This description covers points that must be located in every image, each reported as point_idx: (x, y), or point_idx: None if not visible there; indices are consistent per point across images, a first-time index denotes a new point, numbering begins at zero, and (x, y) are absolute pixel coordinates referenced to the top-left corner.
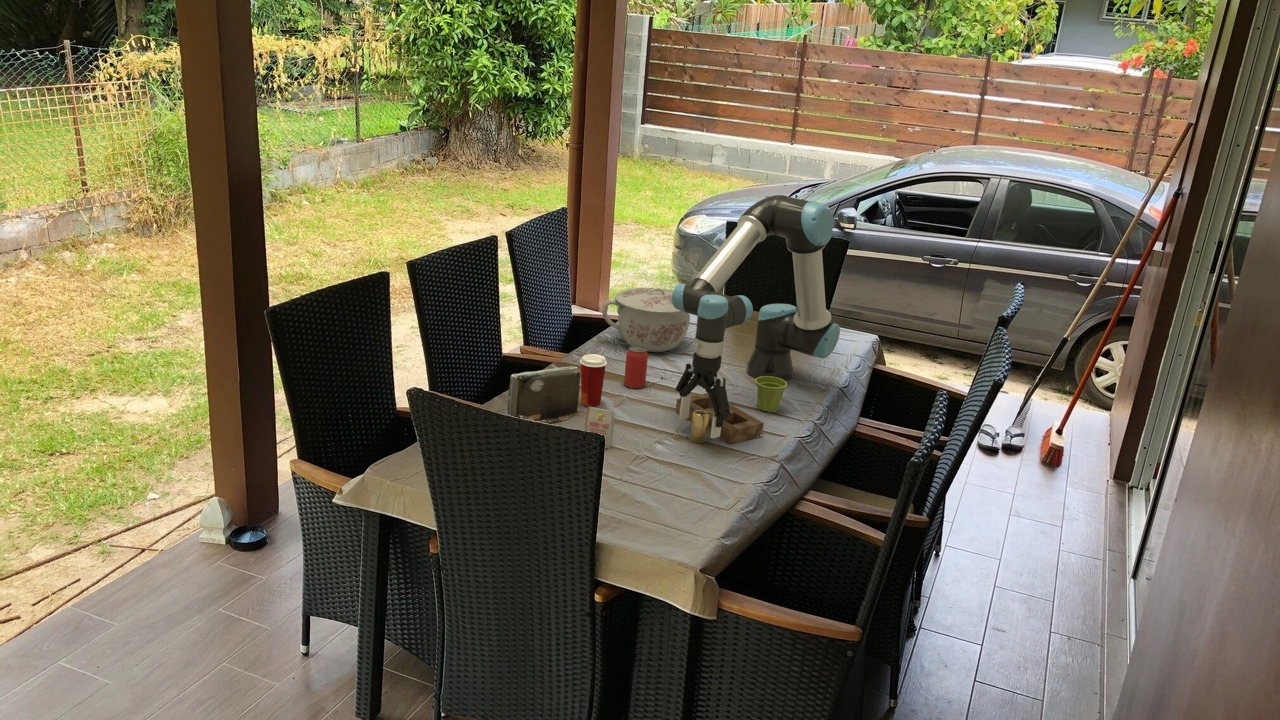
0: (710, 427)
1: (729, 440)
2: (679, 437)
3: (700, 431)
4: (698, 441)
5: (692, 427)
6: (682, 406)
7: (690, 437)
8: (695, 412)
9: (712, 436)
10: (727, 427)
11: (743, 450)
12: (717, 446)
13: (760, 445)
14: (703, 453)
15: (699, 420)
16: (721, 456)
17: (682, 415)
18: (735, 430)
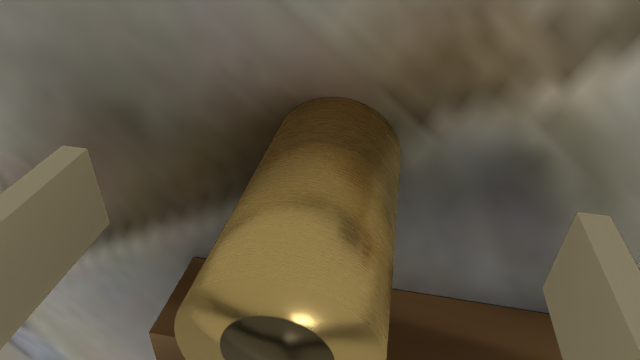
0: None
1: (185, 275)
2: (464, 61)
3: (252, 176)
4: (283, 122)
5: (334, 164)
6: (635, 354)
7: (372, 118)
8: (323, 323)
9: (51, 157)
10: None
11: (100, 257)
12: (191, 186)
13: (133, 344)
14: (116, 18)
15: (221, 242)
16: (45, 100)
17: (582, 258)
18: (158, 354)
